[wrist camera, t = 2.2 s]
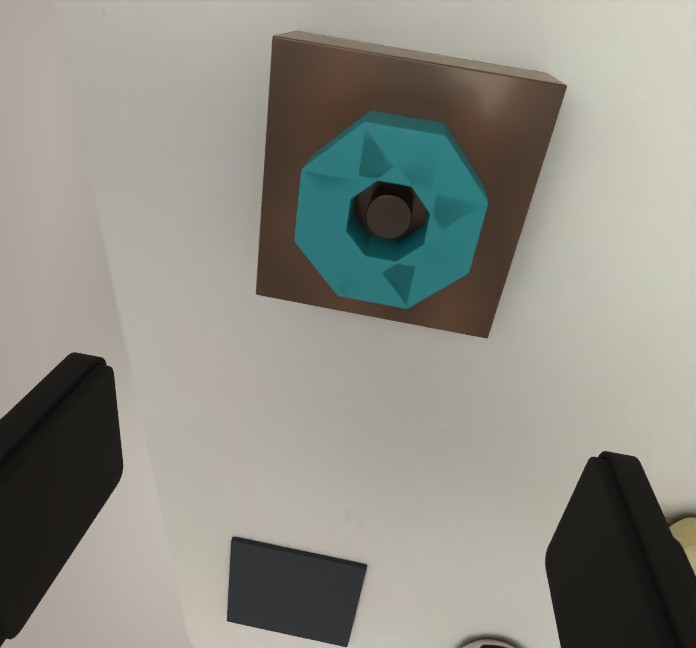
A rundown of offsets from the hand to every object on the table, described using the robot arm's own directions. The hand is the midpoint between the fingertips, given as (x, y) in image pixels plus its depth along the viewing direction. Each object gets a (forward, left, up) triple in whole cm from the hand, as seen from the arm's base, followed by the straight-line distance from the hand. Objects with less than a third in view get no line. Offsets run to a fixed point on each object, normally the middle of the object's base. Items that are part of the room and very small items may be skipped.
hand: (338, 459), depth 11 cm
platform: (0, +1, -19) cm, 19 cm away
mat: (-2, -32, -19) cm, 38 cm away
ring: (0, +1, -15) cm, 15 cm away
